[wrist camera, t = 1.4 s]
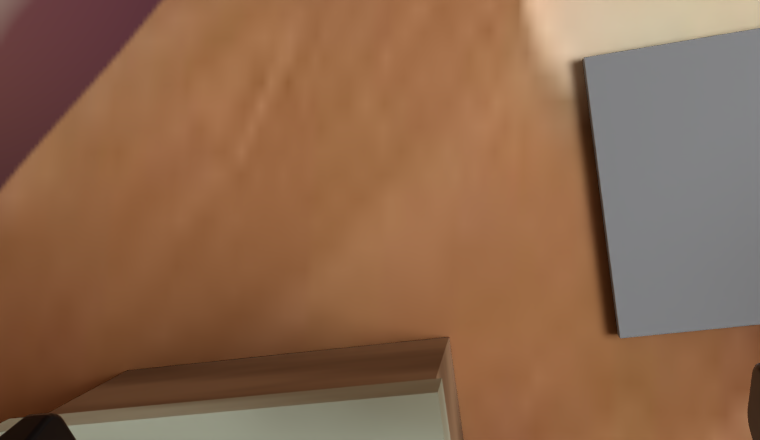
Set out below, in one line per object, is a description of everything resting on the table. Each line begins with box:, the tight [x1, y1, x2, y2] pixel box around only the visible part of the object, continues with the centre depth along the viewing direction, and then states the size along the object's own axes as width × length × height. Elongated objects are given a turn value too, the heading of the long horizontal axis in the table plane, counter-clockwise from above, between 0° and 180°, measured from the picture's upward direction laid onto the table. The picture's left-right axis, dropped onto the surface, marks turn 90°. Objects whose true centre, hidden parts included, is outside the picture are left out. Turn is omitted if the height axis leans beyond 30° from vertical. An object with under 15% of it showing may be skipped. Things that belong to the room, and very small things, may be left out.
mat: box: [583, 28, 760, 338], centre depth 22 cm, size 9×9×1 cm
